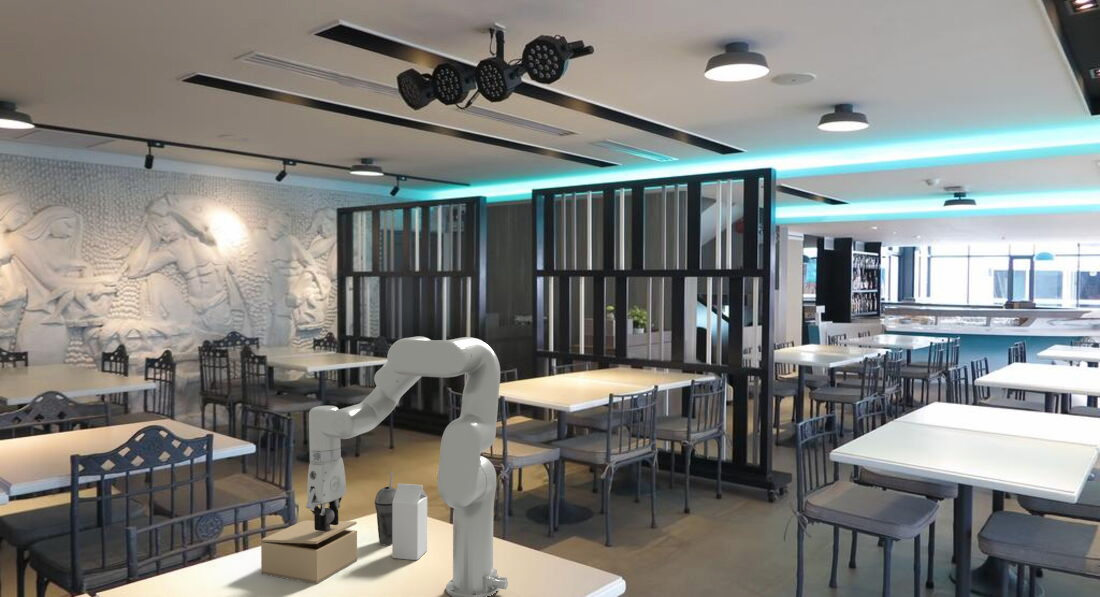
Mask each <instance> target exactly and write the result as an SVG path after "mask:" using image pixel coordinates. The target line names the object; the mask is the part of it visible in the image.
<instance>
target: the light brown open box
mask: <svg viewBox="0 0 1100 597" xmlns="http://www.w3.org/2000/svg"><path fill="white" fill-rule="evenodd" d="M260 542H261V541H260ZM260 544H261V545H260V548H261V549H260V550H261V552H260V553H261V554H260V555H261V556H260V557H261V563H260V564H261V566H260V571H261V572H260V573H261V575H264V574H266V576H270V575H272V577H275V576H277V577H276V578H281V577H282V578H281V579H286V578H288V579H287V580H292V579H293V580H292V581H297V580H299V581H298V582H303V583H308V582H309V583H308V584H313V583H314V584H315V585H318V584H319V583H322V582H323V581H325V580H326V579H328V578H330V577H332V576H334V575H335V574H338V573H339V572H340V571H342V570H344V569H346V568H348V567H349V566H352V565H353V564H354V563H356V562H358V530H355V529H349V528H347V529H345V530H343V531H341V532H339V533H337V534H335V535H333V536H331V537H329V538H327V539H325V540H323V541H321V542H319V543H317V544H308V543H280V542H261V543H260Z"/></svg>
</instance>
